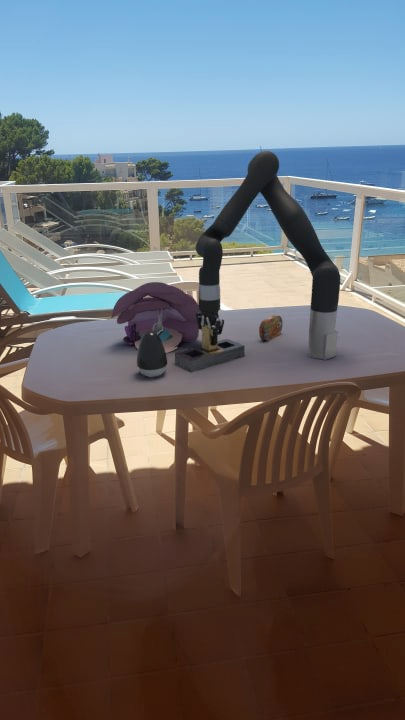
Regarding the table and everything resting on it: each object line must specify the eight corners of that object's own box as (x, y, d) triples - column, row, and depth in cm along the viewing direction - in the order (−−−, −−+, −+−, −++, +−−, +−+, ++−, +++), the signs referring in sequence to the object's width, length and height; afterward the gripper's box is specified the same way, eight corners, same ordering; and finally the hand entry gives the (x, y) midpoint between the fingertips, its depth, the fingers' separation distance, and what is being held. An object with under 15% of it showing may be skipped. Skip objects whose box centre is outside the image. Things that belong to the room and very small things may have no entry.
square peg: (217, 350, 177) (217, 326, 173) (208, 353, 174) (208, 328, 171) (211, 347, 180) (210, 324, 176) (202, 350, 177) (201, 326, 174)
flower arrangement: (121, 369, 184) (108, 302, 168) (114, 338, 203) (102, 275, 187) (211, 351, 190) (207, 284, 175) (196, 322, 210) (191, 260, 194)
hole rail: (227, 348, 189) (227, 338, 187) (244, 355, 181) (244, 345, 180) (175, 363, 175) (174, 352, 174) (191, 372, 168) (191, 360, 166)
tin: (264, 343, 194) (264, 322, 191) (257, 341, 195) (257, 321, 192) (282, 333, 205) (283, 313, 202) (276, 331, 207) (276, 312, 203)
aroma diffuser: (174, 372, 167) (172, 330, 162) (151, 382, 160) (149, 338, 155) (154, 365, 174) (151, 324, 168) (131, 374, 167) (127, 332, 161)
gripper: (231, 298, 167) (230, 346, 173) (205, 291, 177) (206, 336, 184) (213, 302, 162) (213, 351, 169) (188, 294, 173) (189, 340, 179)
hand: (209, 343), depth 176 cm, fingers closed on square peg, 4 cm apart
